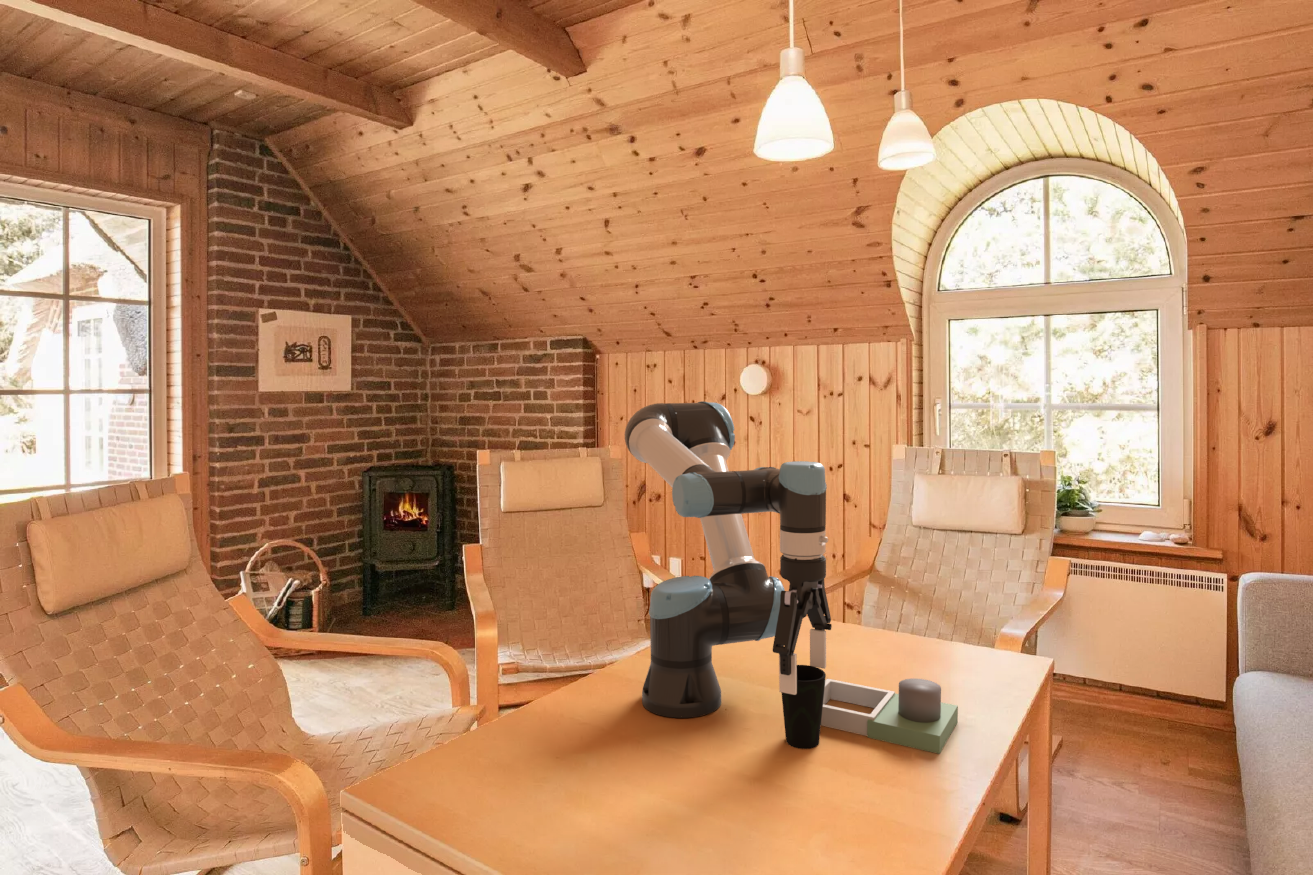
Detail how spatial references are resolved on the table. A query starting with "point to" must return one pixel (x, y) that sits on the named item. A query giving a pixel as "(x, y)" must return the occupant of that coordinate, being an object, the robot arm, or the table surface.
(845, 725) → the multicoloured boxy piece
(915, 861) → the table surface
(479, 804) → the table surface
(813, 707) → the cup
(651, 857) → the table surface
